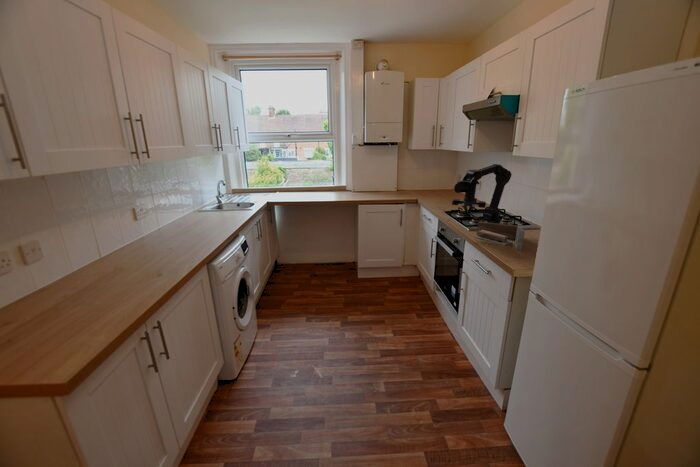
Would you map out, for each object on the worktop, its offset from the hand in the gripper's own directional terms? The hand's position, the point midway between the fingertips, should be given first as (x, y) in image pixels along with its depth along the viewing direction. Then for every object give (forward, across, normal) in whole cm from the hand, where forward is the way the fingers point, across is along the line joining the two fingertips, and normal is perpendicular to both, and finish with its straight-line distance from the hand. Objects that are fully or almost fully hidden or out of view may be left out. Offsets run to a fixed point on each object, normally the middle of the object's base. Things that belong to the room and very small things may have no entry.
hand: (466, 216), depth 185 cm
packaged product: (+13, +16, -2) cm, 21 cm away
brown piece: (+12, +19, -4) cm, 23 cm away
